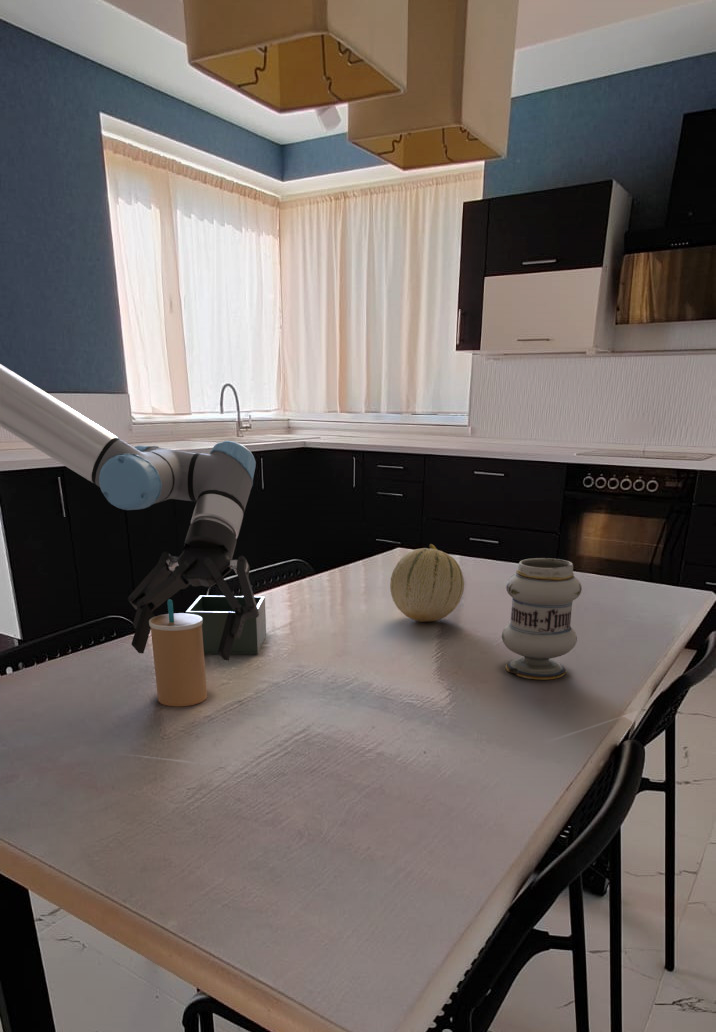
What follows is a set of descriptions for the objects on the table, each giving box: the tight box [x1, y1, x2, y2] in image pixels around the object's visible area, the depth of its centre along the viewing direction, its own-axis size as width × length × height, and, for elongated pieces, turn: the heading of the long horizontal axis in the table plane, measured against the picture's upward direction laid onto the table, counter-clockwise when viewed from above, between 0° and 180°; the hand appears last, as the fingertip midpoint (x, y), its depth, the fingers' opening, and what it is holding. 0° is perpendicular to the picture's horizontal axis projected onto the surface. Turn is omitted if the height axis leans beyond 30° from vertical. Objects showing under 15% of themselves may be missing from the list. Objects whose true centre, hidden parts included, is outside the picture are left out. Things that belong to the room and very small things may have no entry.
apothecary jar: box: [501, 557, 583, 681], centre depth 125 cm, size 12×12×18 cm
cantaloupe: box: [389, 543, 465, 623], centre depth 155 cm, size 15×15×15 cm
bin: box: [185, 595, 267, 656], centre depth 139 cm, size 12×12×8 cm
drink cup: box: [149, 598, 208, 707], centre depth 112 cm, size 8×8×15 cm
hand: (179, 652), depth 112 cm, fingers open, 13 cm apart
